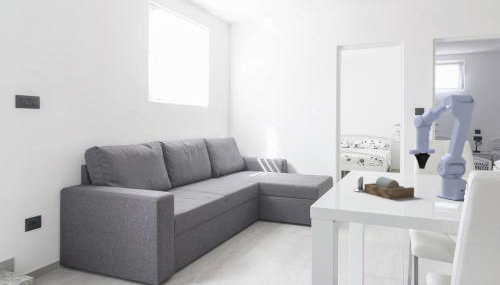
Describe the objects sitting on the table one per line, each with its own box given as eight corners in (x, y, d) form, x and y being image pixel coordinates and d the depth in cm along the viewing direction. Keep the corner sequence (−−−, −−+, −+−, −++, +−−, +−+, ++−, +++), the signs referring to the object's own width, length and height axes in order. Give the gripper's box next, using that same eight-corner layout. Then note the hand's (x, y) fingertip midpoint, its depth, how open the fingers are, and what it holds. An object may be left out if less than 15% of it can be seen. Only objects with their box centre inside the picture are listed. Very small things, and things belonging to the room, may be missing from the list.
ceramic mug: (388, 197, 158) (389, 179, 158) (374, 193, 166) (374, 177, 165) (405, 195, 163) (406, 178, 163) (390, 192, 170) (391, 175, 170)
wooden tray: (414, 196, 158) (414, 187, 158) (389, 199, 153) (390, 190, 153) (387, 190, 173) (387, 182, 173) (364, 192, 168) (364, 184, 168)
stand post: (369, 191, 170) (370, 177, 170) (359, 192, 168) (359, 178, 168) (361, 189, 176) (361, 175, 176) (351, 190, 174) (351, 176, 173)
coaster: (408, 188, 178) (408, 187, 178) (394, 190, 174) (394, 188, 174) (395, 185, 186) (395, 184, 186) (381, 187, 182) (381, 185, 182)
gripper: (426, 140, 182) (426, 167, 183) (404, 140, 177) (404, 168, 178) (438, 140, 176) (438, 168, 177) (416, 141, 170) (415, 170, 171)
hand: (421, 168), depth 177 cm, fingers closed
